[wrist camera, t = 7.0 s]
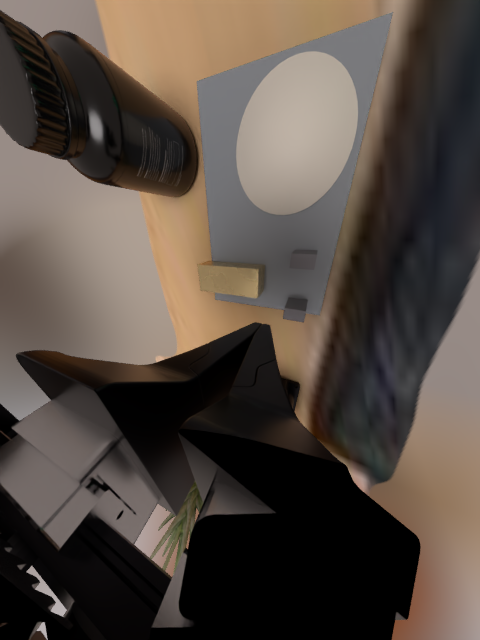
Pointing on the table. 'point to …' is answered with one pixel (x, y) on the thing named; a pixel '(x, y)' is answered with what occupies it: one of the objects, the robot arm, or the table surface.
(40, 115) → the supplement bottle
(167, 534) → the potted plant
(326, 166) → the dock board
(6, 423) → the robot arm
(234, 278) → the bar
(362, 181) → the table surface
